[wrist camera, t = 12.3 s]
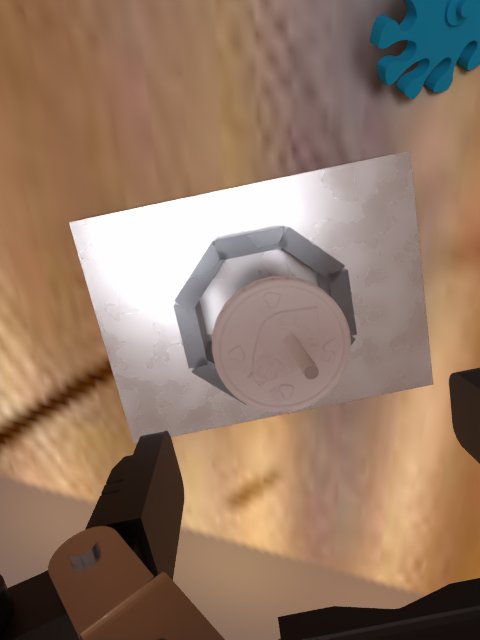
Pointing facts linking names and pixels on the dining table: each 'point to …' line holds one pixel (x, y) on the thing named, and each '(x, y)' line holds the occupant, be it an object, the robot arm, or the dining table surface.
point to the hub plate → (247, 266)
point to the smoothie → (280, 344)
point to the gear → (429, 43)
